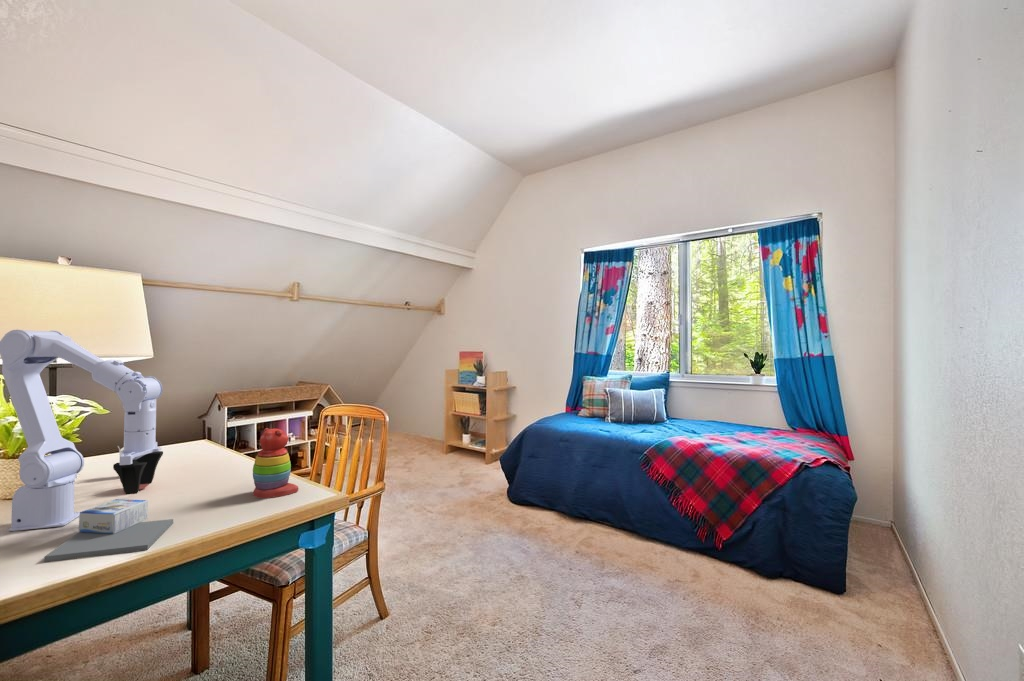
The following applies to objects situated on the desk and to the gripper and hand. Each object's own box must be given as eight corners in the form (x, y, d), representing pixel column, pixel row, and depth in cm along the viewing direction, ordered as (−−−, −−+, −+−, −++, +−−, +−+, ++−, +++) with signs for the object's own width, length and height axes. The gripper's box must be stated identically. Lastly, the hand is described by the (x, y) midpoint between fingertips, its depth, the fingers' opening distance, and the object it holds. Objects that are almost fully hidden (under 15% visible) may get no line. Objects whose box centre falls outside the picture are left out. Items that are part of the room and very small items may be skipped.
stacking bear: (301, 491, 127) (302, 427, 127) (266, 501, 119) (267, 433, 119) (278, 484, 133) (279, 423, 133) (243, 494, 124) (244, 429, 124)
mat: (44, 561, 85) (44, 556, 85) (85, 532, 98) (85, 527, 98) (147, 549, 90) (147, 544, 90) (173, 523, 104) (173, 518, 104)
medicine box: (149, 499, 104) (113, 513, 95) (148, 519, 103) (113, 534, 95) (116, 498, 104) (78, 511, 95) (116, 518, 104) (77, 533, 95)
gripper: (147, 434, 99) (146, 496, 99) (172, 423, 113) (171, 478, 113) (108, 436, 97) (106, 500, 97) (137, 424, 111) (136, 480, 110)
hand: (139, 488), depth 105 cm, fingers open, 7 cm apart
